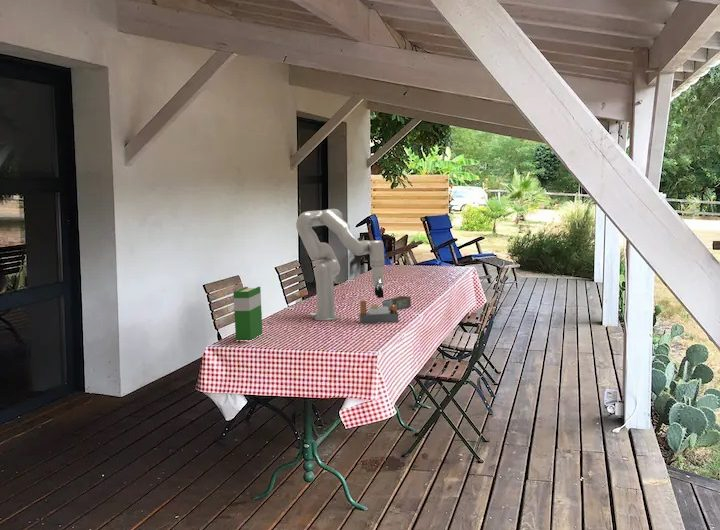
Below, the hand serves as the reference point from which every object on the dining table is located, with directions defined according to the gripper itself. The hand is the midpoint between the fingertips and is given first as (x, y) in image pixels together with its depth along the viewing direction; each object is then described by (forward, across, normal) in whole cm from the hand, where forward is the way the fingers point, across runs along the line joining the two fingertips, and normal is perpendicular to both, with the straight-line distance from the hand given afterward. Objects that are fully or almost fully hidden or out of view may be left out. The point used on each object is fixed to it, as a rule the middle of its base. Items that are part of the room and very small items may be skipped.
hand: (379, 296), depth 375 cm
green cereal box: (+13, +26, -67) cm, 73 cm away
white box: (+9, 0, -1) cm, 9 cm away
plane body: (+14, 0, -1) cm, 14 cm away
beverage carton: (+14, -40, +14) cm, 45 cm away
